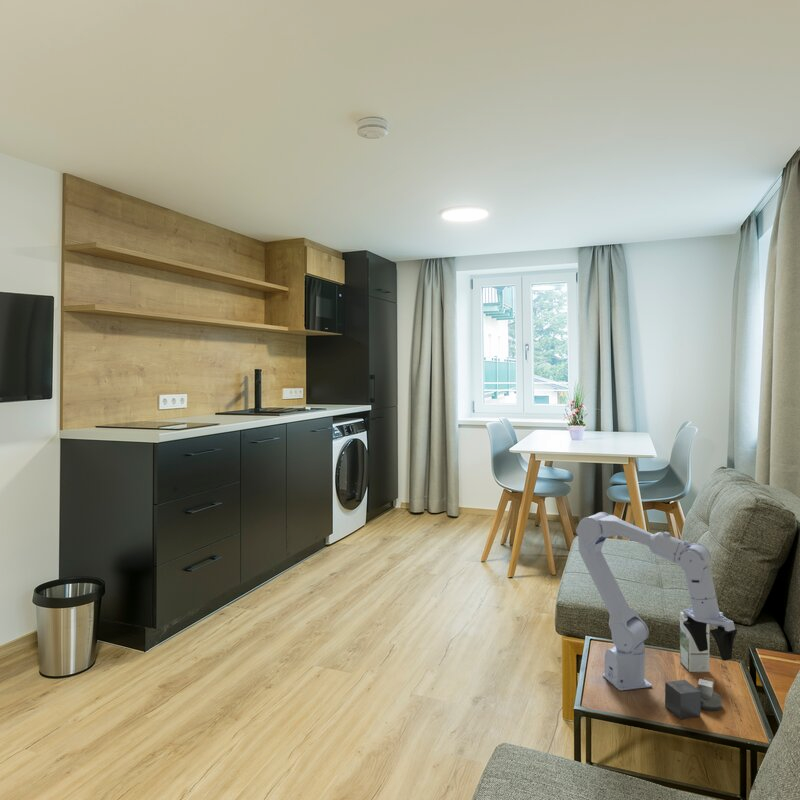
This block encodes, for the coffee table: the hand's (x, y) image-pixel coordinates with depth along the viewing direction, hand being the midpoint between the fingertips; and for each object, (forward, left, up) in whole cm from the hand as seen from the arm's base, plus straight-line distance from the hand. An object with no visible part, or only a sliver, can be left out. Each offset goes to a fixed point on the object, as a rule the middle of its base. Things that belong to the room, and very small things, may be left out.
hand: (714, 654), depth 137 cm
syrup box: (+11, +20, -14) cm, 26 cm away
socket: (-7, +2, -14) cm, 16 cm away
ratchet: (+3, +6, -14) cm, 15 cm away
